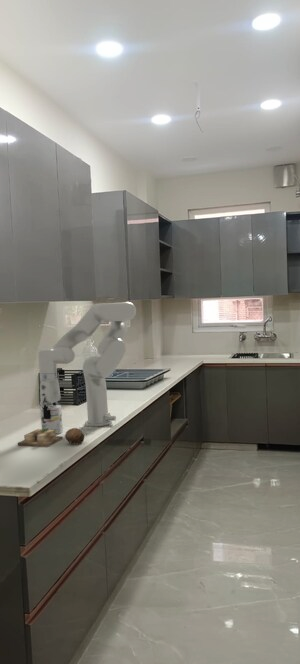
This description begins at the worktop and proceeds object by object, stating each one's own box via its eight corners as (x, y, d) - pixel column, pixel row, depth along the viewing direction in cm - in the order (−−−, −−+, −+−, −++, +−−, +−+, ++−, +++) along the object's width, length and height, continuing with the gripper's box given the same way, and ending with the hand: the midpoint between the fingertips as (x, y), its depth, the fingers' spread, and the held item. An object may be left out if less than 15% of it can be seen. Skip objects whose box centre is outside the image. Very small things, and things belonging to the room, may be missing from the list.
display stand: (33, 437, 217) (33, 428, 217) (62, 438, 213) (61, 429, 213) (17, 445, 206) (16, 435, 206) (47, 446, 201) (47, 436, 201)
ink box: (41, 434, 222) (39, 408, 222) (44, 432, 227) (42, 405, 227) (61, 433, 222) (59, 407, 221) (63, 430, 227) (61, 404, 226)
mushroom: (61, 434, 207) (67, 422, 205) (79, 438, 210) (85, 427, 208) (62, 447, 201) (68, 436, 198) (81, 452, 204) (87, 440, 201)
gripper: (45, 379, 214) (48, 421, 215) (65, 373, 230) (68, 413, 231) (30, 379, 216) (33, 421, 217) (51, 374, 233) (53, 413, 234)
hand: (51, 416), depth 224 cm, fingers closed on ink box, 6 cm apart
